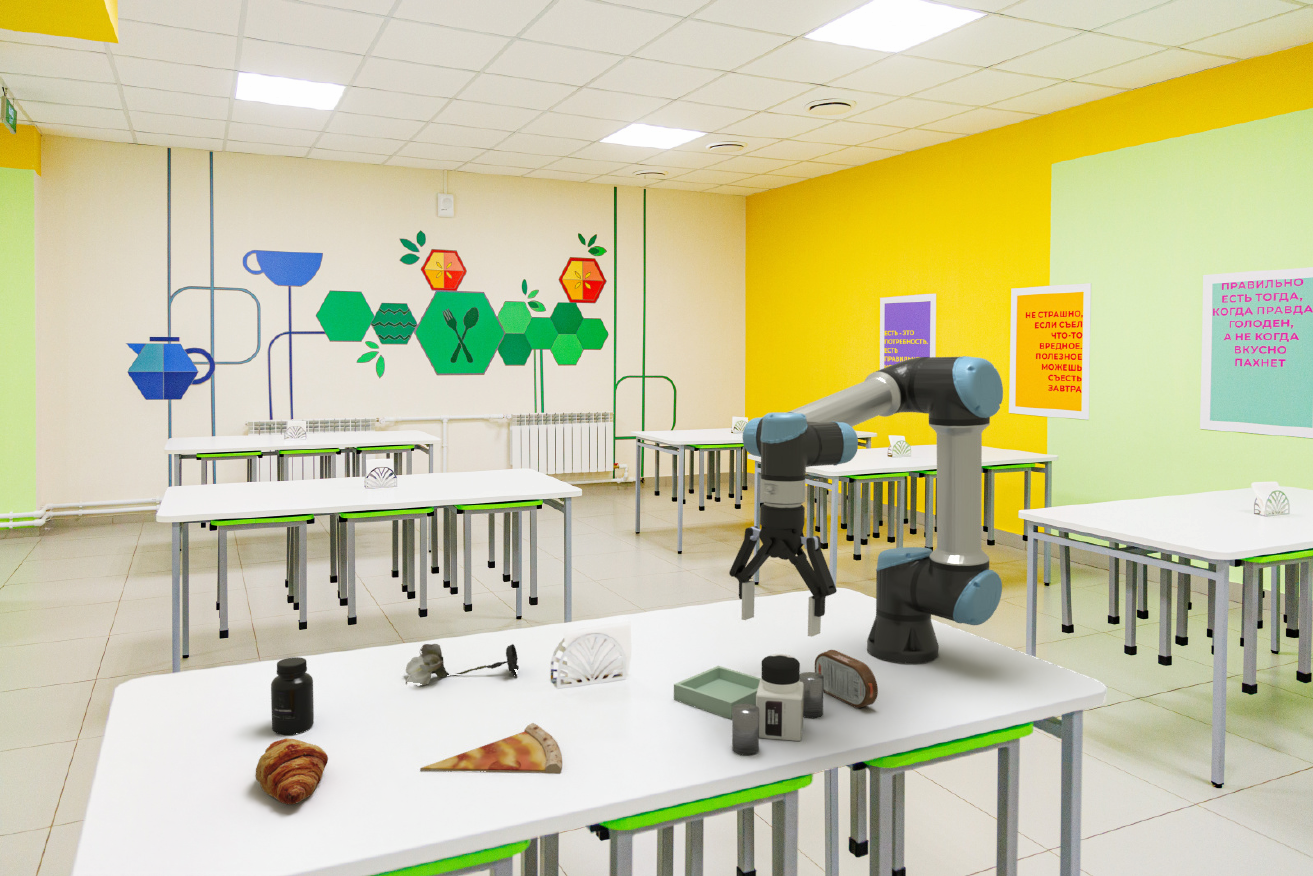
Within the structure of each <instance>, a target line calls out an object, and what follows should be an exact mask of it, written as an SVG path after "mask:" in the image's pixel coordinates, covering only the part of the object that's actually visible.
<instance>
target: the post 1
mask: <svg viewBox="0 0 1313 876" xmlns="http://www.w3.org/2000/svg"><path fill="white" fill-rule="evenodd" d="M731 721H732V723H731V724H732V729H731V731H732V732H731V733H732V735H731V737H732V738H731V739H732V743H731V744H732V745H731V750H732V752H733V753H734V754H736V755H739V756H746V757H748V756H749V757H750V756H754V755H757V754H758V753H759V752H760V738H759V708H758V707H757V706H755V705H752V704H737V705H735V706H733V708H732V719H731Z"/></svg>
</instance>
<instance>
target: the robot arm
mask: <svg viewBox="0 0 1313 876" xmlns="http://www.w3.org/2000/svg"><path fill="white" fill-rule="evenodd" d="M1003 398H1004V389H1003V381H1002V379H1001V375H1000V373H999V371H998V370H997V368H996V367H995V366H994V364H993V363H992V362H990V361H989V360H988V359H985V358H983V357H974V356H964V355H963V356H939V357H938V356H935V357H934V356H933V357H932V356H931V357H929V356H921V357H914V358H909V359H906V360H903V361H901V362H897V363H894V364H891V365H888V366H887V367H884V368H881V369H878V370H876V371H874V372H871V373H869V374H868V375H867V376H866V377H865V379H864V381H862V382H859V383H856V384H854V385H852V386H849V387H847V388H844V389H843V390H840V391H837V392H835V393H832V394H830V395H828V396H824V397H822V398H819V399H817V400H815V401H812V402H809V403H807V404H804V405H803V406H799V407H797V408H795V409H793V410H790V411H787V412H768V413H766V414H765V415H763V416H762V417H754V418H752V419H750V420H749V421H748V422H746V424H745V426H744V429H743V432H742V443H743V447H744V449H745V450H746V452H747V453H748V454H750V455H751V456H753V457H758V458H760V497H759V498H760V501H761V502H762V504H761V505H760V506H759V525H760V526H761V528H759V527H758V526H755V525H754V526H750V527H746V528H745V531H744V537H743V542H742V544H741V546H740V548H739V550H738V552H737V555H736V557H735V559H734V561H733V563H732V566H731V567H730V570H729V572H728V573H729V576H730V577H731V578H732V577H734V578H735V579H737V581H738V599H739V600H741V620H743V621H747V620H750V619H752V618H753V619H754V617H755V590H756V589H755V585H756V584H755V583H756V581H755V580H752V579H753V576H754V575H755V574H756V573H757V572H758V570H759V569H760V568H762V565H763V564H765V562H766V561H767V560H768V558H769V557H770V558H773V559H775V558H779V559H780V560H785V561H787V560H789V562H790V563H791V564H792V565H793V566H794V567H795V569H796V570H797V573H798V574H799V575H800V577H801V579H802V580H803V581H804V583H805V585H806V586H807V588H808V590H809V591H810V594H812V596H809V597H808V604H807V605H808V608H807V611H808V613H807V618H808V619H807V637H811V638H812V637H814V636H817V635H820V634H821V626H822V625H821V623H822V620H821V619H822V617H823V616H824V615H825V614H826V598H827V597H828V596H831V595H834V594H836V593H837V591H838V590H837V587H836V584H835V582H834V579H833V577H832V574H831V572H830V569H829V567H828V564H827V562H826V559H825V556H824V553H823V550H822V545H821V544H822V543H821V538H820V536H819V535H814V536H805V535H804V527H805V511H806V508H805V506H804V505H803V504H804V503H805V502H806V474H807V473H806V470H807V468H809V467H819V466H821V467H822V466H838V465H842V464H846V463H848V462H849V463H850V461H852V460H853V459H854V457H855V456H856V455H857V452H858V449H859V440H858V439H859V438H858V435H857V433H856V430H855V429H854V428H853V427H855V426H857V425H859V424H861V423H864V422H866V421H868V420H872V419H873V418H876V417H878V416H880V417H885V418H886V417H890V416H893V415H896V414H900V413H917V414H920V413H921V414H928V426H930V428H931V429H933V431H934V432H935V433H936V540H937V541H936V548H935V549H934V550H933V549H931V548H928V547H922V546H921V547H918V546H912V547H911V546H910V547H909V546H908V547H905V546H904V547H895V548H888V549H884V550H882V551H880V552H879V554H878V556H877V563H876V569H875V570H876V584H875V585H876V589H875V592H876V593H875V595H876V596H875V597H876V600H875V608H876V609H875V618H874V620H873V623H872V625H871V626H872V627H871V629H870V632H869V634H868V637H867V641H866V642H867V643H866V650H867V653H869V654H870V655H871V656H872V657H875V658H876V659H879V660H882V661H887V662H891V663H898V664H908V665H909V664H913V665H917V664H925V663H930V662H933V661H936V660H937V659H938V658H939V653H940V652H939V648H940V647H939V642H938V639H937V636H936V632H935V629H934V626H933V622H932V616H935V617H938V618H941V619H946V620H948V621H952V622H955V623H957V624H965V625H970V626H979V625H982V624H984V623H986V622H987V621H988V620H989V619H990V618H992V616H993V615H994V613H995V611H997V609H998V606H999V603H1000V602H1001V597H1002V592H1003V582H1002V581H1003V580H1002V579H1001V577H1000V575H999V573H997V571H995V570H993V569H990V557H989V555H988V554H987V553H986V552H985V551H983V550H984V549H982V492H983V491H982V488H983V487H982V478H983V477H982V472H983V471H982V469H983V468H982V464H983V463H982V455H983V454H982V451H983V450H982V442H983V441H982V434H983V431H984V430H986V428H987V427H989V426H990V424H991V422H990V421H991V419H990V418H991V417H993V416H994V415H996V414H997V413H999V411H1000V408H1001V406H1000V405H1001V404H1002V403H1003ZM758 540H760V542H761V543H762V545H761V546H760V547H759V549H758V550H757V551H756V553H755V555H754V556H753V557H752V558H751V555H752V554H753V552H754V549H755V547H756V545H757V543H758ZM803 546H804V549H805V550H806V551H807V554H806V553H805V551H804V550H803ZM807 555H808V557H807ZM750 558H751V560H750ZM807 558H808V559H809V561H810V562H809V561H808V559H807ZM749 560H750V561H749Z"/></svg>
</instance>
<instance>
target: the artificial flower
mask: <svg viewBox="0 0 1313 876" xmlns="http://www.w3.org/2000/svg"><path fill="white" fill-rule="evenodd" d="M419 649H420V650H419V651H420V652H419V656H414V657H412V658H411V659H410V661H409V662H407V664H406V668H405V673H406V674H407V675H409V676H408V677H407V679H406V681H405V682H413V683H420V684H422V685H421V686H427V685H426V684H428V685H429V683H430V681H431V678H432V674H435V675H436V676H437V677H438V678H442V677H443V676H447V675H449V674H450V673H449V672H448V671H447V670H446V667H445V665H444V663H445V662H444V656H443V653H442V648H441V645H440V644H439V643H432V644H431V643H430V644H429V643H424V644H422V646H421V648H419ZM516 649H517V648H516V646H515V644H514V643H512V644H510V645H507V647H506V648H505V657H506V661H497V662H495V663H493V664H488V665H486V664H485V665H480V666H477V667H475V668H470V669H467V670H463V671H461V672H457V673H456V674H461V675H464V674H467V673H470V672H472V671H478V670H482V669H486V668H487V669H492V670H493V669H496V668H498V667H501V666H503V665H504V664H507V670H508V673H510V672H511V674H512V675H513V676H514V675H515V676H518V674H516V672H515V670H514V669H517V670H518V669H519V670H520V668H519V665H518V654H517V653H518V652H517V650H516Z"/></svg>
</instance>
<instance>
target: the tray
mask: <svg viewBox="0 0 1313 876" xmlns="http://www.w3.org/2000/svg"><path fill="white" fill-rule="evenodd" d="M760 680H761V677H758V676H755V675H752V674H748V673H745V672H741V671H737V670H734V669H731V668H727V667H724V666H720V665H716V666H715V667H713V668H710V669H707V670H705V671H703V672H700V673H697V674H695V675H693V676H690V677H688V678H685V679H683V680H681V681H679V682H676V683H674V684H673V700H674V701H676V700H678V701H677V702H679V701H681V702H680V703H682V702H683V703H682V704H685V705H688V706H691V705H692V706H691V707H694V706H695V707H694V708H697V709H700V710H703V711H706V712H709V713H712V714H714V715H717V716H720V717H723V718H727V719H729V720H732V708H733V706H735V705H737V704H752V705H755V706H756V694H757V690H758V686H759V682H760Z"/></svg>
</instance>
